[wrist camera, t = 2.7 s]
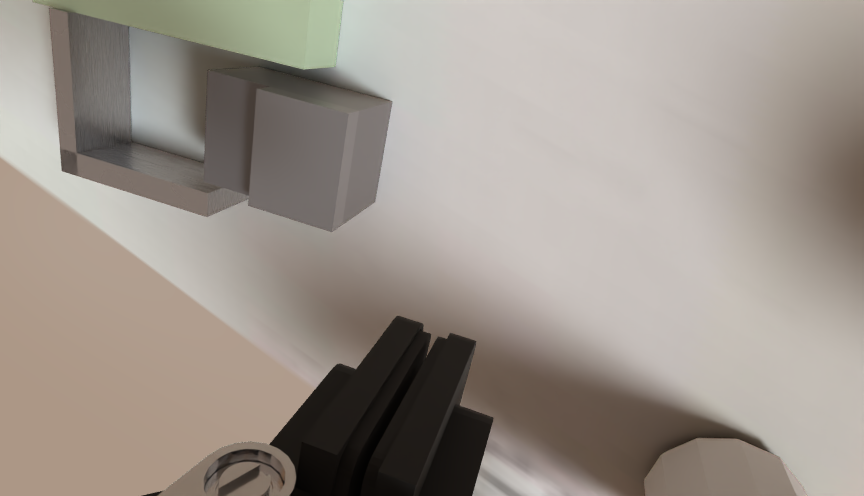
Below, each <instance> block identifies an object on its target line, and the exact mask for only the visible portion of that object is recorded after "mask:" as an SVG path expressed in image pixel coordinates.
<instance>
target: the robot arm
mask: <svg viewBox="0 0 864 496" xmlns="http://www.w3.org/2000/svg"><path fill="white" fill-rule="evenodd" d="M430 338H431V334H430V333H427V332H423V324H422V323H419V322H416V321H413V320H410V319H407V318H404V317H401V316H397V317H396V318H395V319H394V320H393V321H392V323H391V324H390V325H389V327H388V328H387V329H386V331H385V332H384V333H383V335H382V336H381V337H380V339H379V340H378V341H377V343H376V344H375V345H374V347H373V348H372V349H371V350H370V352H369V353H368V354H367V356H366V357H365V358H364V360H363V361H362V362H361V364H360V365H359V366H358V368H357V369H354V368H351V367H348V366H345V365H343V364H337V365H336V366H335V367H334V368H333V369H332V370H331V371H330V372H329V374H328V375H327V376H326V377H325V378H324V379H323V381H322V382H321V383H320V384H319V385H318V387H317V388H316V389H315V390H314V391H313V393H312V394H311V395H310V396H309V397H308V399H307V400H306V401H305V402H304V403H303V405H302V406H301V407H300V408H299V409H298V411H297V412H296V413H295V414H294V415H293V417H292V418H291V419H290V420H289V421H288V423H287V424H286V425H285V426H284V427H283V429H282V430H281V431H280V432H279V433H278V435H277V436H276V437H275V438H274V440H273V441H272V442H271V443H270V444H269V445H268V444H266V443H258V442H241V443H234V444H231V445H228V446H225V447H222V448H220V449H218V450H216V451H215V452H213V453H211V454H210V455H208V456H207V457H205V458H204V459H203V460H202V461H200V462H199V463H198V464H197V465H196V466H194V467H193V468H192V469H190V470H189V471H188V472H187V473H185V474H184V475H183V476H182V477H180V478H179V479H178V480H177V481H175V482H174V483H173V484H171V485H170V486H169V487H168V488H167V489H165V490H164V491H160V492H156V493H152V494H147V495H143V496H472V494H473V491H474V487H475V483H476V480H477V476H478V473H479V469H480V465H481V462H482V458H483V455H484V451H485V447H486V444H487V440H488V437H489V433H490V429H491V426H492V422H493V417H490V416H487V415H484V414H482V413H479V412H476V411H473V410H470V409H467V408H465V407H462V406H459V405H460V401H461V398H462V394H463V390H464V387H465V383H466V379H467V376H468V372H469V369H470V365H471V361H472V358H473V354H474V350H475V346H476V341H474V340H471V339H468V338H465V337H462V336H459V335H455V334H452V333H450V334H449V336H448V338H447V339H445V338H442V337H438V338H437V339H436V341H435V343H434V345H433V346H432V348H431V350H430V352H429V354H428V355H427V351H428V347H429V343H430ZM426 356H427V357H426Z"/></svg>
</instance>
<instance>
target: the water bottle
mask: <svg viewBox="0 0 864 496" xmlns="http://www.w3.org/2000/svg"><path fill="white" fill-rule="evenodd" d="M644 487H645V496H807V494H806V491H805V489H804V487H803V486H802V484H801V483H800V482H799V481H798V479H797V478H796V477H795V476H794V474H793V473H792V472H791V471H790V469H789V468H788V467H787V466H786V464H785V463H784V462H783V461H782V459H781V458H780V457H778V456H776V455H773V454H771V453H769V452H767V451H764V450H762V449H760V448H758V447H755V446H753V445H751V444H748V443H746V442H744V441H742V440H739V439H734V438H696V439H694V440H691V441H689V442H687V443H684V444H682V445H680V446H677V447H675V448H673V449H670V450H668V451H666V452H664V453H663V454H661V455H660V457H659V458H658V460H657V461H656V463H655V464H654V466H653V467H652V469H651V470H650V472H649V473H648V475H647V476H646V478H645V479H644Z"/></svg>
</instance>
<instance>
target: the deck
mask: <svg viewBox="0 0 864 496" xmlns="http://www.w3.org/2000/svg"><path fill="white" fill-rule="evenodd" d="M33 2H35V3H39V4H43V5H47V6H51V7H55V8H59V9H63V10H67V11H71V12H75V13H79V14H83V15H87V16H91V17H95V18H99V19H103V20H107V21H111V22H115V23H119V24H123V25H127V26H131V27H135V28H139V29H143V30H147V31H151V32H155V33H159V34H163V35H167V36H171V37H175V38H179V39H183V40H187V41H191V42H195V43H199V44H203V45H207V46H211V47H215V48H219V49H223V50H227V51H231V52H235V53H239V54H243V55H247V56H251V57H255V58H260V59H264V60H268V61H272V62H276V63H280V64H284V65H288V66H292V67H296V68H300V69H316V68H328V67H335V65H336V57H337V49H338V40H339V32H340V24H341V15H342V7H343V0H33Z"/></svg>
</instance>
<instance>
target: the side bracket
mask: <svg viewBox="0 0 864 496" xmlns="http://www.w3.org/2000/svg"><path fill="white" fill-rule="evenodd" d="M49 13H50V25H51V38H52V51H53V64H54V77H55V89H56V102H57V115H58V128H59V140H60V153H61V166H62V171H63V172H66V173H70V174H73V175H76V176H79V177H82V178H85V179H89V180H92V181H95V182H98V183H101V184H104V185H108V186H111V187H114V188H117V189H120V190H123V191H127V192H130V193H133V194H136V195H139V196H142V197H146V198H149V199H152V200H155V201H158V202H161V203H165V204H168V205H171V206H174V207H177V208H180V209H184V210H187V211H190V212H193V213H196V214H199V215H203V216H206V217H208V216H211V215H213V214H215V213H217V212H220V211H222V210H224V209H227V208H229V207H231V206H233V205H236V204H238V203H240V202H243V201H245V200H247V199H249V196H248V195H245V194H242V193H238V192H235V191H232V190H229V189H226V188H222V187H219V186H216V185H213V184H210V183H206V182H204V163H202V162H198V161H195V160H191V159H188V158H185V157H181V156H178V155H175V154H171V153H168V152H164V151H161V150H158V149H154V148H151V147H147V146H144V145H141V144H137V143H134V142H131V103H130V62H129V26H127V25H123V24H119V23H115V22H111V21H107V20H103V19H99V18H95V17H91V16H87V15H83V14H79V13H75V12H71V11H67V10H63V9H58V8H49Z"/></svg>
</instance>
